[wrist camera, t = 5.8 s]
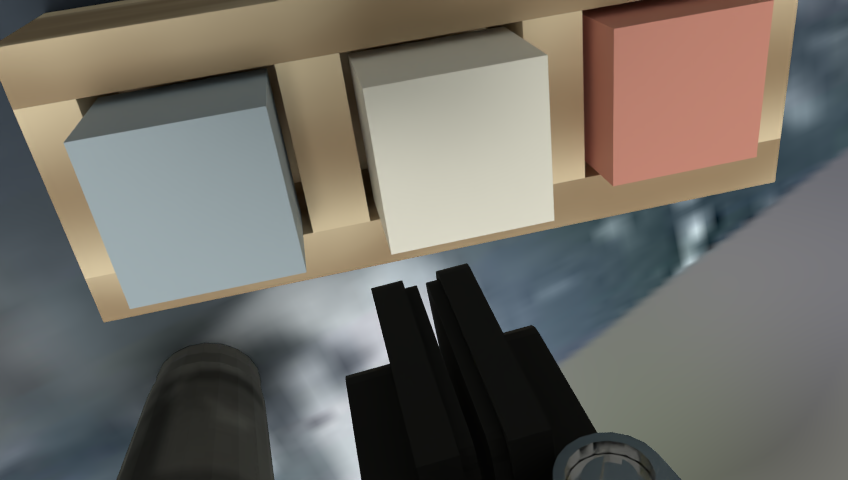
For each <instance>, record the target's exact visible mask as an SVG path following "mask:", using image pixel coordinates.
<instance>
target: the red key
mask: <svg viewBox="0 0 848 480" xmlns="http://www.w3.org/2000/svg"><path fill="white" fill-rule="evenodd" d="M773 5H774V0H639V1H633V2H628V3H622V4H616V5H610V6H605V7H599V8H593V9H588V10H582V29H583V90H584V150H585V161H586V162H587V163H588V164H589V165H590V166H591V167H592V168H594V169H595V170H596V171H597V172H598V173H599V174H600V175H601V176H602V177H603V178H604V179H606V180H607V181H608V182H609V183H610V184H611V185H612V186H618V185H622V184H627V183H632V182H637V181H642V180H647V179H652V178H657V177H662V176H666V175H671V174H676V173H681V172H686V171H691V170H696V169H701V168H705V167H710V166H715V165H720V164H725V163H730V162H735V161H740V160H745V159H749V158H754V157H757V148H758V139H759V130H760V121H761V112H762V103H763V95H764V86H765V77H766V68H767V59H768V50H769V41H770V32H771V23H772V14H773Z"/></svg>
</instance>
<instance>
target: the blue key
mask: <svg viewBox="0 0 848 480" xmlns="http://www.w3.org/2000/svg"><path fill="white" fill-rule="evenodd" d="M64 146H65V148H66V151H67V153H68V156H69V158H70V161H71V163H72V166H73V168H74V171H75V173H76V176H77V178H78V181H79V183H80V186H81V188H82V191H83V193H84V195H85V198H86V200H87V203H88V205H89V208H90V210H91V213H92V215H93V218H94V220H95V223H96V225H97V228H98V230H99V233H100V235H101V238H102V240H103V243H104V245H105V248H106V250H107V253H108V255H109V258H110V260H111V263H112V265H113V268H114V270H115V273H116V275H117V278H118V280H119V283H120V285H121V288H122V290H123V293H124V295H125V298H126V300H127V303H128V305H129V308H130V309H133V308H138V307H143V306H147V305H152V304H157V303H162V302H167V301H171V300H176V299H181V298H186V297H191V296H195V295H200V294H205V293H210V292H215V291H219V290H224V289H229V288H234V287H239V286H243V285H248V284H253V283H258V282H263V281H267V280H272V279H277V278H282V277H287V276H291V275H296V274H301V273H306V272H307V271H306V260H305V249H304V238H303V228H302V217H301V211H300V206H299V202H298V198H297V194H296V190H295V185H294V181H293V177H292V173H291V169H290V164H289V160H288V156H287V152H286V148H285V143H284V139H283V135H282V131H281V126H280V122H279V118H278V114H277V110H276V105H275V101H274V97H273V93H272V89H271V84H270V80H269V76H268V72H267V68H264V69H258V70H252V71H247V72H241V73H235V74H229V75H224V76H218V77H212V78H207V79H201V80H195V81H190V82H184V83H178V84H172V85H167V86H161V87H155V88H150V89H144V90H138V91H132V92H127V93H121V94H115V95H110V96H104V97H98V98H97V100H96V101H95V102H94V103H93V105H92V106H91V107H90V109H89V110H88V111H87V113H86V114H85V115H84V117H83V118H82V119H81V120H80V122H79V123H78V124H77V126H76V127H75V128H74V130H73V131H72V132H71V134H70V135H69V136H68V137H67V139H66V140H65V141H64Z"/></svg>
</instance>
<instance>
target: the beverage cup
mask: <svg viewBox="0 0 848 480" xmlns="http://www.w3.org/2000/svg"><path fill="white" fill-rule="evenodd" d="M117 480H274V474H273V465H272V457H271V449H270V440H269V432H268V424H267V416H266V407H265V401H264V397H263V394H262V390H261V380H260V376H259V373H258V369H257V367H256V366H255V365H254V363H253V362H252V361H251V359H250V358H249V357H248V356H246V355H245V354H243V353H242V352H240V351H239V350H237V349H235V348H232V347H229V346H225V345H222V344H209V343H204V344H199V345H193V346H188V347H186V348H184V349H182V350H180V351H178V352H176V353H174V354H173V355H172V356H171V357H170V358H169V359H168V360H167V361H166V362H164V363H163V365H162V367H161V369H160V371H159V373H158V375H157V379H156V382H155V384H154V385H153V387H152V389H151V391H150V393H149V395H148V397H147V400H146V402H145V405H144V408H143V410H142V413H141V416H140V418H139V421H138V424H137V426H136V429H135V432H134V434H133V437H132V440H131V442H130V445H129V448H128V450H127V453H126V456H125V458H124V461H123V464H122V466H121V469H120V472H119V475H118V477H117Z"/></svg>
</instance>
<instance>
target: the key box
mask: <svg viewBox="0 0 848 480" xmlns="http://www.w3.org/2000/svg"><path fill="white" fill-rule="evenodd" d="M633 1H639V0H123V1H117V2H111V3H105V4H99V5H92V6H86V7H80V8H74V9H68V10H61V11H55V12H49V13H44V14H43V15H41V16H39V17H38V18H36V19H35V20H33V21H31V22H30V23H28V24H26V25H25V26H23V27H22V28H20V29H18V30H17V31H15V32H14V33H12V34H10V35H9V36H7V37H6V38H4V39H2V40H1V41H0V81H1V83H2V85H3V88H4V90H5V92H6V95H7V97H8V99H9V102H10V104H11V106H12V109H13V111H14V113H15V116H16V118H17V120H18V123H19V125H20V128H21V130H22V132H23V135H24V137H25V139H26V142H27V144H28V146H29V149H30V151H31V153H32V156H33V158H34V160H35V163H36V165H37V167H38V170H39V172H40V174H41V177H42V179H43V181H44V184H45V186H46V188H47V191H48V193H49V195H50V198H51V200H52V202H53V205H54V207H55V209H56V212H57V214H58V216H59V219H60V221H61V223H62V226H63V228H64V230H65V233H66V235H67V237H68V240H69V242H70V244H71V247H72V249H73V252H74V254H75V256H76V259H77V261H78V263H79V266H80V268H81V270H82V273H83V275H84V277H85V280H86V282H87V284H88V287H89V289H90V291H91V294H92V296H93V298H94V301H95V303H96V305H97V308H98V310H99V312H100V315H101V317H102V319H103V322H109V321H113V320H118V319H123V318H128V317H132V316H137V315H142V314H147V313H152V312H156V311H161V310H166V309H171V308H175V307H180V306H185V305H190V304H194V303H199V302H204V301H209V300H214V299H218V298H223V297H228V296H233V295H237V294H242V293H247V292H252V291H256V290H261V289H266V288H271V287H276V286H280V285H285V284H290V283H295V282H299V281H304V280H309V279H314V278H318V277H323V276H328V275H333V274H338V273H342V272H347V271H352V270H357V269H361V268H366V267H371V266H376V265H380V264H385V263H390V262H395V261H400V260H404V259H409V258H414V257H419V256H423V255H428V254H433V253H438V252H442V251H447V250H452V249H457V248H462V247H466V246H471V245H476V244H481V243H485V242H490V241H495V240H500V239H504V238H509V237H514V236H519V235H524V234H528V233H533V232H538V231H543V230H547V229H552V228H557V227H562V226H566V225H571V224H576V223H581V222H586V221H590V220H595V219H600V218H605V217H609V216H614V215H619V214H624V213H629V212H633V211H638V210H643V209H648V208H652V207H657V206H662V205H667V204H671V203H676V202H681V201H686V200H691V199H695V198H700V197H705V196H710V195H714V194H719V193H724V192H729V191H733V190H738V189H743V188H748V187H753V186H757V185H762V184H767V183H772V182H775V177H776V169H777V161H778V153H779V145H780V137H781V130H782V122H783V114H784V106H785V98H786V91H787V83H788V75H789V67H790V59H791V51H792V44H793V36H794V28H795V20H796V12H797V4H798V0H774V5H773V14H772V23H771V32H770V41H769V50H768V59H767V68H766V77H765V86H764V95H763V103H762V112H761V121H760V130H759V139H758V148H757V157H754V158H749V159H745V160H740V161H735V162H730V163H725V164H720V165H715V166H710V167H705V168H701V169H696V170H691V171H686V172H681V173H676V174H671V175H666V176H662V177H657V178H652V179H647V180H642V181H637V182H632V183H627V184H622V185H618V186H612V185H611V184H610V183H609V182H608V181H607V180H606V179H604V178H603V177H602V176H601V175H600V174H599V173H598V172H597V171H596V170H595V169H594V168H592V167H591V166H590V165H589V164H588V163H587V162H586V161H585V150H584V90H583V29H582V10H588V9H593V8H599V7H605V6H610V5H616V4H622V3H628V2H633ZM503 26H504V27H506V28H507V29H509V30H510V31H512V32H513V33H515V34H516V35H518V36H519V37H521V38H522V39H524V40H525V41H527V42H529V43H530V44H532V45H533V46H535V47H536V48H538V49H539V50H541V51H542V52H544V53H545V54H547V55H548V76H549V101H550V125H551V150H552V174H553V199H554V221H550V222H546V223H541V224H536V225H531V226H526V227H522V228H517V229H512V230H507V231H502V232H498V233H493V234H488V235H483V236H478V237H474V238H469V239H464V240H459V241H454V242H450V243H445V244H440V245H435V246H431V247H426V248H421V249H416V250H411V251H407V252H402V253H397V254H392V255H391V252H390V249H389V246H388V242H387V239H386V236H385V233H384V230H383V227H382V224H381V220H380V217H379V214H378V211H377V208H376V205H375V202H374V198H373V192H372V187H371V181H370V175H369V170H368V164H367V159H366V153H365V148H364V142H363V136H362V131H361V125H360V120H359V114H358V109H357V103H356V97H355V92H354V86H353V81H352V75H351V69H350V64H349V58H348V54H349V53H355V52H361V51H366V50H372V49H378V48H383V47H389V46H395V45H401V44H406V43H412V42H418V41H423V40H429V39H435V38H440V37H446V36H452V35H458V34H463V33H469V32H475V31H480V30H486V29H492V28H497V27H503ZM264 68H267V72H268V76H269V80H270V84H271V89H272V93H273V97H274V101H275V105H276V110H277V114H278V118H279V122H280V126H281V131H282V135H283V139H284V143H285V148H286V152H287V156H288V160H289V164H290V169H291V173H292V177H293V181H294V185H295V190H296V194H297V198H298V202H299V206H300V211H301V217H302V228H303V238H304V249H305V260H306V271H307V272H306V273H301V274H296V275H291V276H287V277H282V278H277V279H272V280H267V281H263V282H258V283H253V284H248V285H243V286H239V287H234V288H229V289H224V290H219V291H215V292H210V293H205V294H200V295H195V296H191V297H186V298H181V299H176V300H171V301H167V302H162V303H157V304H152V305H147V306H143V307H138V308H133V309H130V308H129V305H128V303H127V300H126V298H125V295H124V293H123V290H122V288H121V285H120V283H119V280H118V278H117V275H116V273H115V270H114V268H113V265H112V263H111V260H110V258H109V255H108V253H107V250H106V248H105V245H104V243H103V240H102V238H101V235H100V233H99V230H98V228H97V225H96V223H95V220H94V218H93V215H92V213H91V210H90V208H89V205H88V203H87V200H86V198H85V195H84V193H83V191H82V188H81V186H80V183H79V181H78V178H77V176H76V173H75V171H74V168H73V166H72V163H71V161H70V158H69V156H68V153H67V151H66V148H65V146H64V141H65V140H66V139H67V137H68V136H69V135H70V134H71V132H72V131H73V130H74V128H75V127H76V126H77V124H78V123H79V122H80V120H81V119H82V118H83V117H84V115H85V114H86V113H87V111H88V110H89V109H90V107H91V106H92V105H93V103H94V102H95V101H96V100H97V98H98V97H104V96H110V95H115V94H121V93H127V92H132V91H138V90H144V89H150V88H155V87H161V86H167V85H172V84H178V83H184V82H190V81H195V80H201V79H207V78H212V77H218V76H224V75H229V74H235V73H241V72H247V71H252V70H258V69H264Z"/></svg>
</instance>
